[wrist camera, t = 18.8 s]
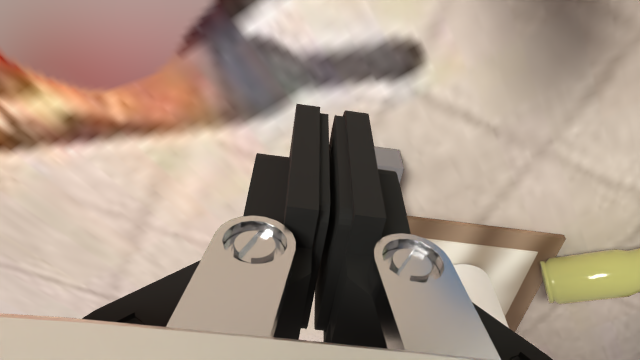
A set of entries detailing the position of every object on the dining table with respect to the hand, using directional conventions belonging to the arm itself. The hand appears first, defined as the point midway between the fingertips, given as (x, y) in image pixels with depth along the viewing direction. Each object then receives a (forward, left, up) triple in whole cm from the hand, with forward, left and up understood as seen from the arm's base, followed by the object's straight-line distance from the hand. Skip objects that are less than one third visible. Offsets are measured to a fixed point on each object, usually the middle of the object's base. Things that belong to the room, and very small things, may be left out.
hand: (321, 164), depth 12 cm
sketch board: (-18, +28, -27) cm, 43 cm away
